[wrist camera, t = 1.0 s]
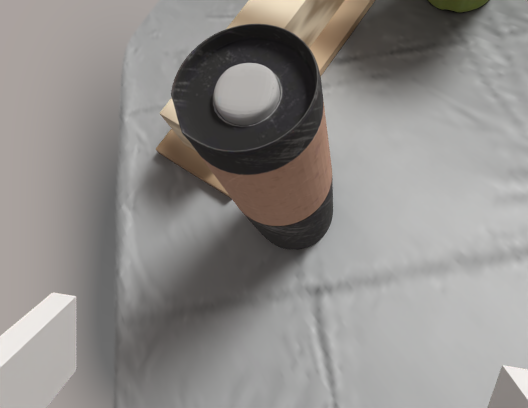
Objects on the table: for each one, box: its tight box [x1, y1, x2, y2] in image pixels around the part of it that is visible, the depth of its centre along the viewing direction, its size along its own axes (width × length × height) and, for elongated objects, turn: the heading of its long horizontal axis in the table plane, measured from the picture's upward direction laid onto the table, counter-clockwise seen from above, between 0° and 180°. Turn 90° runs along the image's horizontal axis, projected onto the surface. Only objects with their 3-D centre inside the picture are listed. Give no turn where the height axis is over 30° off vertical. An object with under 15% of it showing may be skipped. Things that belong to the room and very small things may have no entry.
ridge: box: [156, 0, 375, 198], centre depth 41 cm, size 28×10×7 cm, turn 145°
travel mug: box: [171, 24, 333, 249], centre depth 29 cm, size 8×8×20 cm
